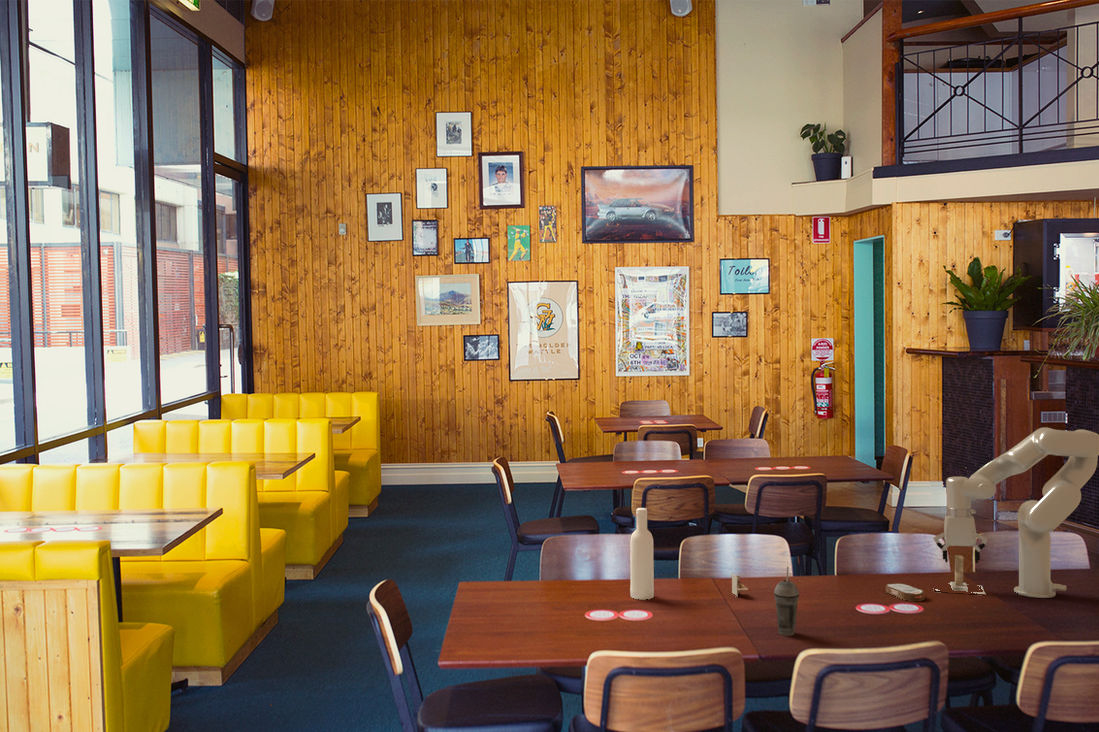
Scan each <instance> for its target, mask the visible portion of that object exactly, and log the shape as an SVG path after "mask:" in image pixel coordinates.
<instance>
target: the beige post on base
mask: <svg viewBox="0 0 1099 732" xmlns="http://www.w3.org/2000/svg"><path fill="white" fill-rule="evenodd" d="M949 584H950V585H951V588H952V590H954V591H966V592H968V587H967V585H968V584H967V583H966V582H964V556H963V555H954V581H950V582H949Z"/></svg>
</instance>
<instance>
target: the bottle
mask: <svg viewBox="0 0 1099 732" xmlns="http://www.w3.org/2000/svg"><path fill="white" fill-rule="evenodd" d="M635 514H636V520H635V521H636V529H635V530H634V531H632V533H631V537H630V543H629V544H630V547H629V548H630V549H629V550H630V551H629V554H630V559H629V560H630V562H629V563H630V571H629V572H630V586H629V587H630V588H629V591H630V592H629V593H630V598H632V599H633V598H634V600H638V599H639V601H641V600H642V601H647V600H646V599H648V600H651V598H652V599H653V598H654V594H655V588H654V586H655V585H654V578H655V577H654V576H655V575H654V573H655V571H654V567H655V566H654V538H653V535H652V533H651V531H650V530H649V529H648V509H647V508H646V507H638V508H636V511H635Z"/></svg>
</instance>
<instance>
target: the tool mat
mask: <svg viewBox="0 0 1099 732" xmlns="http://www.w3.org/2000/svg"><path fill="white" fill-rule="evenodd" d="M978 586H979V587H980V586H981V589H982V590H983V592H973V593H975V594H976V593H977V594H985V595H986V596H987V594H986V592H985V589H984V587H983V585H978ZM935 590H936V591H940V590H938V589H935ZM979 590H980V589H979ZM971 593H972V592H971Z"/></svg>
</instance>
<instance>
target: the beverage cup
mask: <svg viewBox="0 0 1099 732" xmlns="http://www.w3.org/2000/svg"><path fill="white" fill-rule="evenodd" d="M789 569H790V568H789V566H786V579H783V580H781V581H779V582H778V583H777V584H776V586H775V588H774V592H773V595H774V601H775V605H776V607H775V609H776V617H777V629H778V635H781V636H784V637H785V636H786V637H790V636H794V635H795V634H796V633H795V631H796V624H797V612H798V603H799V597H800V592H799V588H798V587H797V585H796V583H794V582H793V581H791V580H789Z"/></svg>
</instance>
